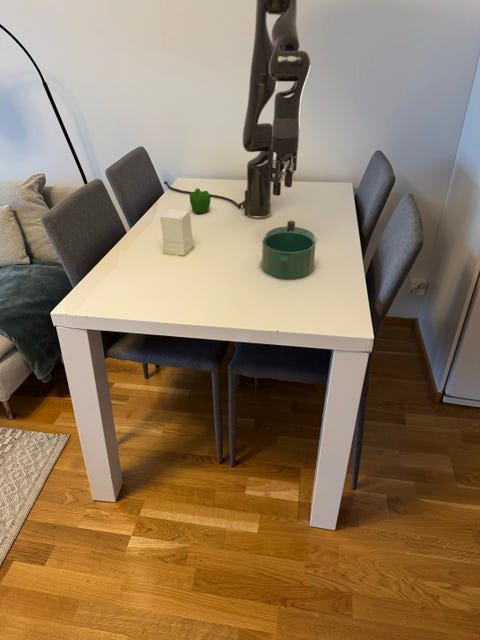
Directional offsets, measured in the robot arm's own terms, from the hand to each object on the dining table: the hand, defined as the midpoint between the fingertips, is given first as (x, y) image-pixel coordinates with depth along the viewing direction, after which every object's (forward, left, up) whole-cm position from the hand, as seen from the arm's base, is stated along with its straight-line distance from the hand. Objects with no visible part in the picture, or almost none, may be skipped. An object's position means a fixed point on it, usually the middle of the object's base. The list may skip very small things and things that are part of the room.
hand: (282, 190), depth 134 cm
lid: (-2, +14, -20) cm, 24 cm away
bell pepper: (-44, +22, -21) cm, 53 cm away
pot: (+6, -7, -21) cm, 23 cm away
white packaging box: (-31, -12, -21) cm, 39 cm away
